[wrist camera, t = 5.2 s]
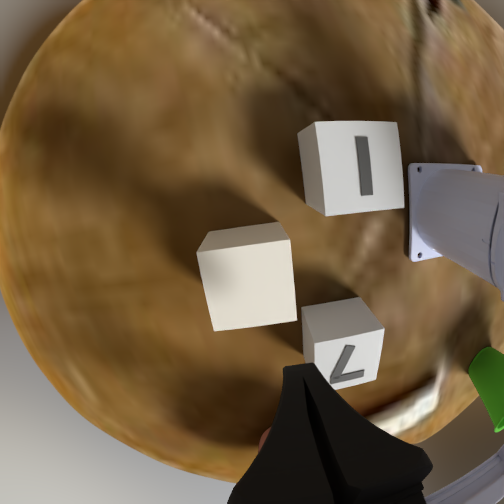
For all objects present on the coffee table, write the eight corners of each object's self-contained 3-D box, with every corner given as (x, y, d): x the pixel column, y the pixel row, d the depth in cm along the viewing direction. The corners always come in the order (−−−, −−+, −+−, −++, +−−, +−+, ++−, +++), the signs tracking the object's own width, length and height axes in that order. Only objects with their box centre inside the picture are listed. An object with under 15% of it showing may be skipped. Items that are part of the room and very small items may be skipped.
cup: (497, 359, 26) (533, 398, 15) (456, 394, 27) (489, 441, 16) (501, 321, 23) (548, 362, 13) (457, 361, 24) (501, 415, 14)
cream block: (278, 221, 19) (289, 239, 14) (286, 286, 20) (296, 320, 16) (208, 231, 19) (196, 252, 14) (220, 294, 21) (214, 331, 16)
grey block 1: (362, 130, 17) (397, 122, 12) (369, 197, 19) (405, 207, 14) (297, 133, 17) (315, 121, 12) (305, 203, 19) (326, 216, 14)
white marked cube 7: (359, 296, 21) (385, 329, 16) (356, 344, 22) (376, 380, 18) (301, 306, 21) (314, 344, 16) (303, 354, 23) (314, 394, 18)
